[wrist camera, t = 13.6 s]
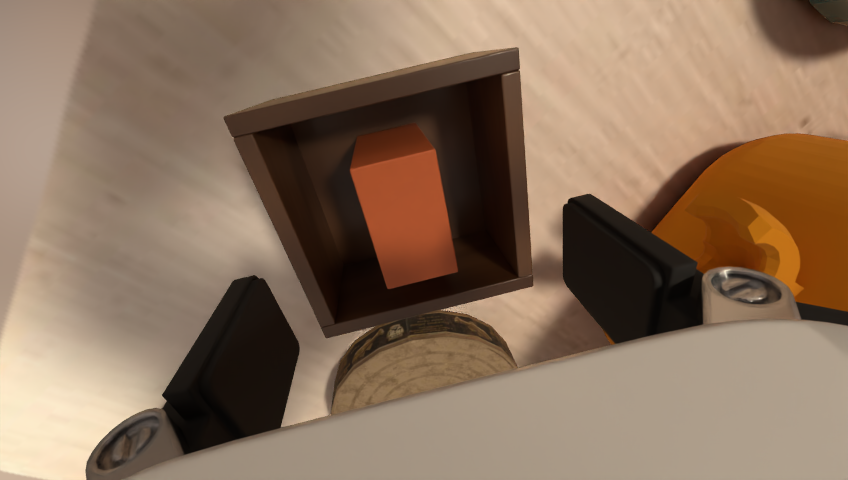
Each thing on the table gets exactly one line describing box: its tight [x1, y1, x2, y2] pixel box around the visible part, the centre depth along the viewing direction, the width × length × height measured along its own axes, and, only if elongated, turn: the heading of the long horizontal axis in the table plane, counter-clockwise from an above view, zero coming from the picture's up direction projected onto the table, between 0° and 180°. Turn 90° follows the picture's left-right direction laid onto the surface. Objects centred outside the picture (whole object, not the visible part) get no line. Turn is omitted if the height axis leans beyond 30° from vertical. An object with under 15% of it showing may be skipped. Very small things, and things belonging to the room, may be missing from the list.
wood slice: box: [331, 310, 518, 415], centre depth 29 cm, size 16×16×3 cm
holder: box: [603, 134, 848, 345], centre depth 21 cm, size 30×17×30 cm
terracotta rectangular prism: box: [350, 123, 458, 289], centre depth 18 cm, size 6×4×7 cm, turn 12°
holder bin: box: [223, 47, 533, 338], centre depth 19 cm, size 12×12×7 cm
